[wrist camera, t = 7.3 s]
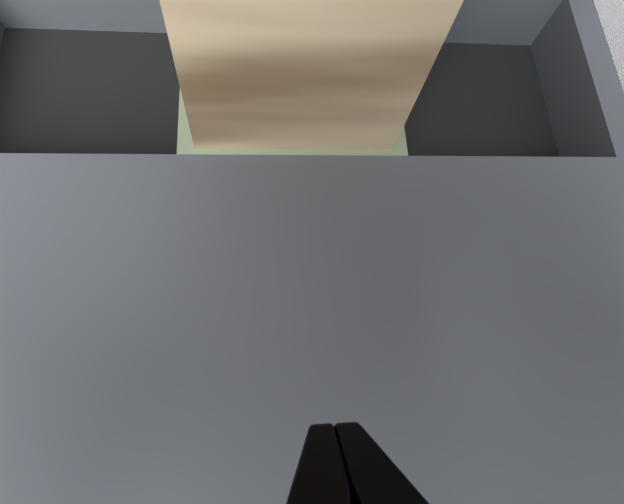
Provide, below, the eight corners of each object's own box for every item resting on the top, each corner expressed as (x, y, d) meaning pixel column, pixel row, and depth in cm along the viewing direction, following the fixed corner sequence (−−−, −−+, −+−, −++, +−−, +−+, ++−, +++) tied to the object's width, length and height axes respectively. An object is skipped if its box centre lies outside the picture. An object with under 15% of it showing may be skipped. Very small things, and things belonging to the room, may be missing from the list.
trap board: (717, 678, 14) (922, 790, 9) (-190, 795, 11) (-469, 1025, 7) (542, 34, 21) (611, -62, 17) (-14, 14, 19) (-93, -106, 14)
